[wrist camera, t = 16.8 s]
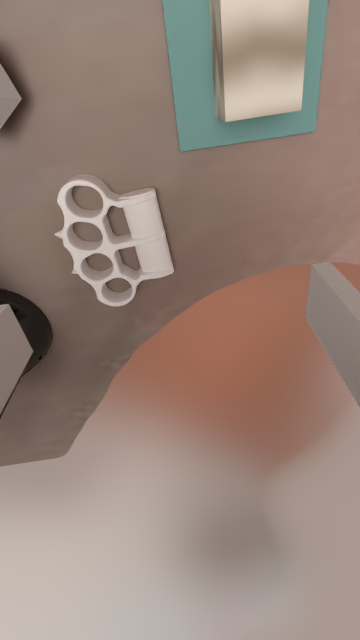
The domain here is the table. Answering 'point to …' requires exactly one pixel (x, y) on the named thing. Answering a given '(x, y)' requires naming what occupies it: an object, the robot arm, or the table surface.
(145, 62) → the table surface
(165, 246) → the white brass knuckles
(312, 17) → the mat
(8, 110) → the die
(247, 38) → the block
